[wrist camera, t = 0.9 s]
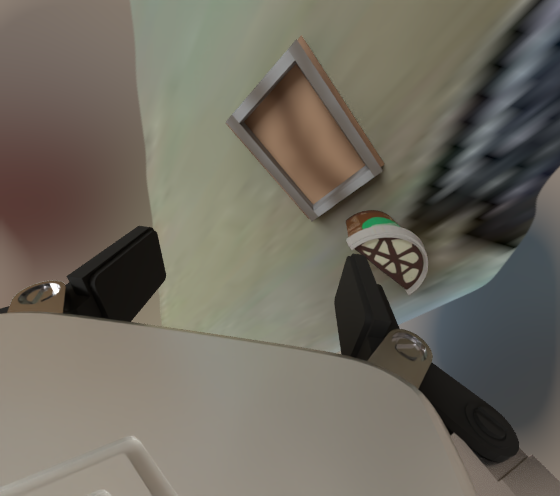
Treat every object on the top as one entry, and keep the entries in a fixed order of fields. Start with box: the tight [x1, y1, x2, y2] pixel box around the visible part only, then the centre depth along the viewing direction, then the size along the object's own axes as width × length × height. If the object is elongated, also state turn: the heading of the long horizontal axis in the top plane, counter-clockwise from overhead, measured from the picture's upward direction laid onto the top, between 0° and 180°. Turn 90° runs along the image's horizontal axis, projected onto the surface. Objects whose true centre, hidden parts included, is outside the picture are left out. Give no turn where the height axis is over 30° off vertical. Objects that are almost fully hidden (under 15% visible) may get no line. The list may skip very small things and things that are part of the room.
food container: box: [346, 210, 428, 295], centre depth 33 cm, size 12×6×10 cm, turn 52°
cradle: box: [226, 35, 384, 221], centre depth 31 cm, size 13×18×4 cm
